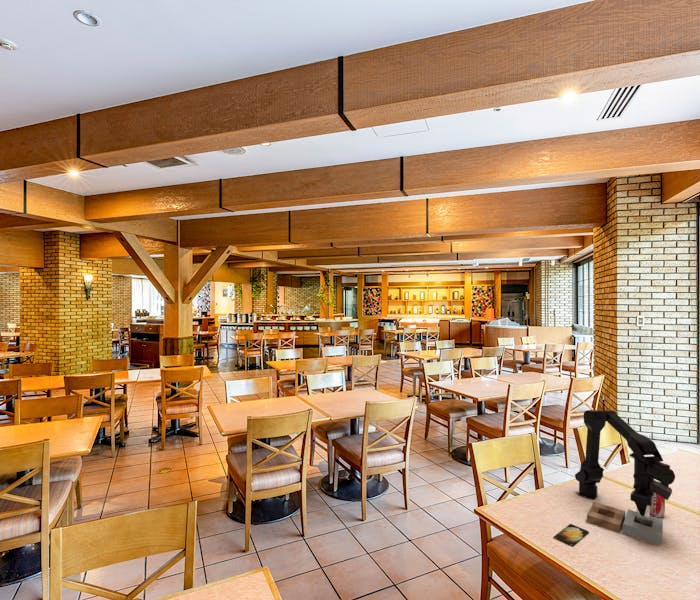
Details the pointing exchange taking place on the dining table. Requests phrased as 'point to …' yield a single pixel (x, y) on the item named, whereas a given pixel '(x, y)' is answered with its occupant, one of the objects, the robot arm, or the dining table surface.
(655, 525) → the slate socket
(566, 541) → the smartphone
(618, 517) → the walnut mount
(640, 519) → the steel pin
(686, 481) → the dining table surface
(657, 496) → the soda can
